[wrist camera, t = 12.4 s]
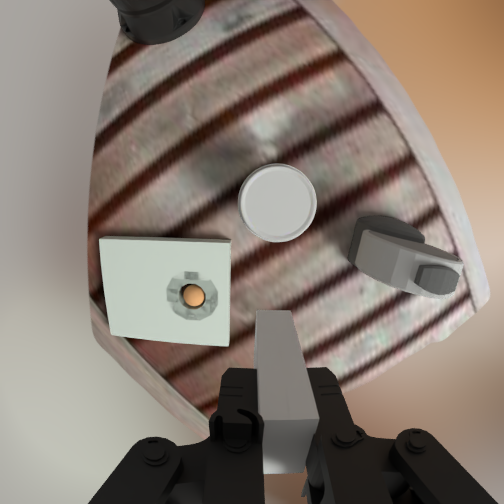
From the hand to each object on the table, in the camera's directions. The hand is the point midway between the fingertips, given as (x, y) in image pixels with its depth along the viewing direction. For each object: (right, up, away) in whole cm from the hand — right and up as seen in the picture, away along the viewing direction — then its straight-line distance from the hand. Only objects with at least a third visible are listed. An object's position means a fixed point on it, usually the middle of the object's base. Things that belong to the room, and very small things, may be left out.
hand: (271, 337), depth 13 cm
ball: (-10, -3, +35) cm, 36 cm away
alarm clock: (+22, +5, +35) cm, 41 cm away
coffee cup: (+2, +12, +33) cm, 35 cm away
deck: (-15, -2, +36) cm, 39 cm away
